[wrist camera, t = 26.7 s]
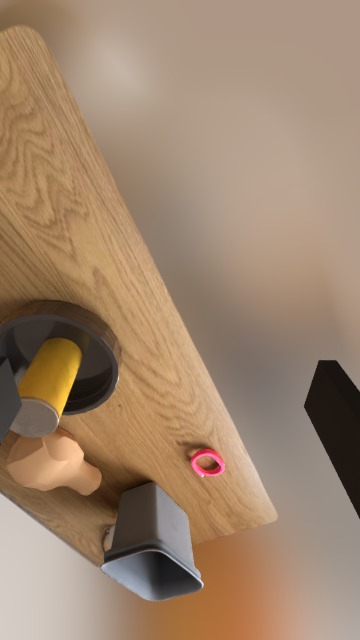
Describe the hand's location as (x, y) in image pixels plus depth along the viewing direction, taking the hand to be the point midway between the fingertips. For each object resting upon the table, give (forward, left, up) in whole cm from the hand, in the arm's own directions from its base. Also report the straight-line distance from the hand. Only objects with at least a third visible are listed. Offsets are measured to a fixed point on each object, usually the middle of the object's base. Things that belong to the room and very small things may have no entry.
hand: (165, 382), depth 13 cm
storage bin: (0, +64, -30) cm, 71 cm away
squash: (+17, +44, -30) cm, 56 cm away
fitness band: (-11, +48, -30) cm, 58 cm away
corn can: (+15, +21, -30) cm, 39 cm away
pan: (+15, +21, -30) cm, 40 cm away
